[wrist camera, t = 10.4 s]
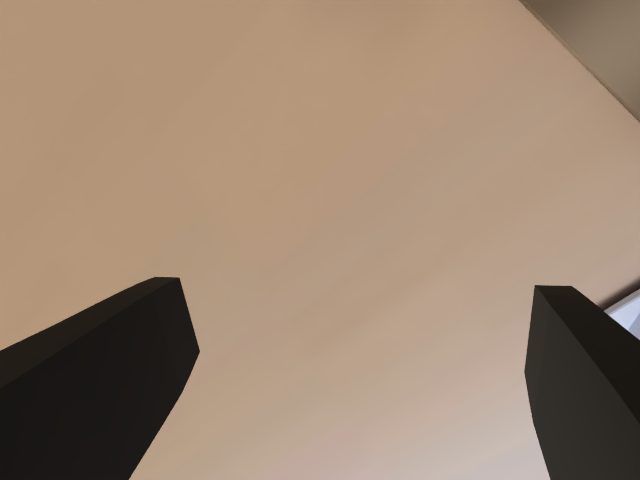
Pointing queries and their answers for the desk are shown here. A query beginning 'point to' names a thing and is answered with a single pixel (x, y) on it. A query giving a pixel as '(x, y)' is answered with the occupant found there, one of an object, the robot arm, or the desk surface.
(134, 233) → the desk surface
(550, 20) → the tan board
